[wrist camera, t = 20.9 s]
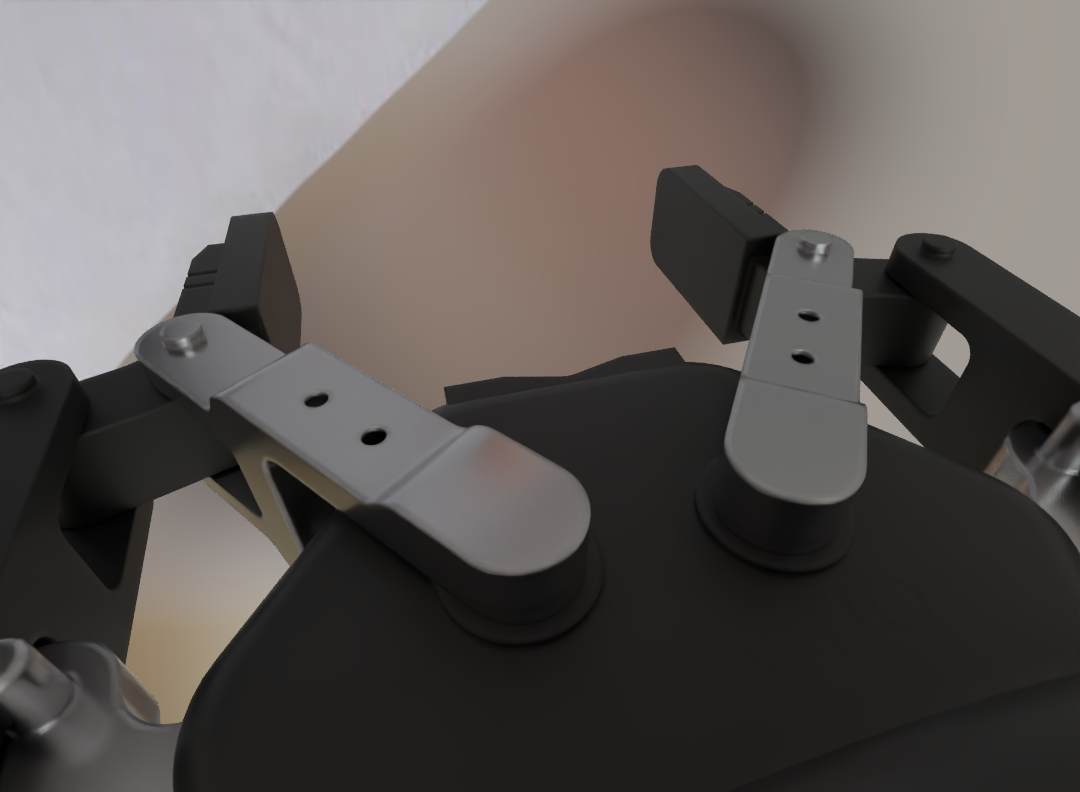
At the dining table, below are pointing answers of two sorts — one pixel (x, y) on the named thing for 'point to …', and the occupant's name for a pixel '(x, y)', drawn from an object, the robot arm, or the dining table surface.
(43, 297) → the dining table surface
